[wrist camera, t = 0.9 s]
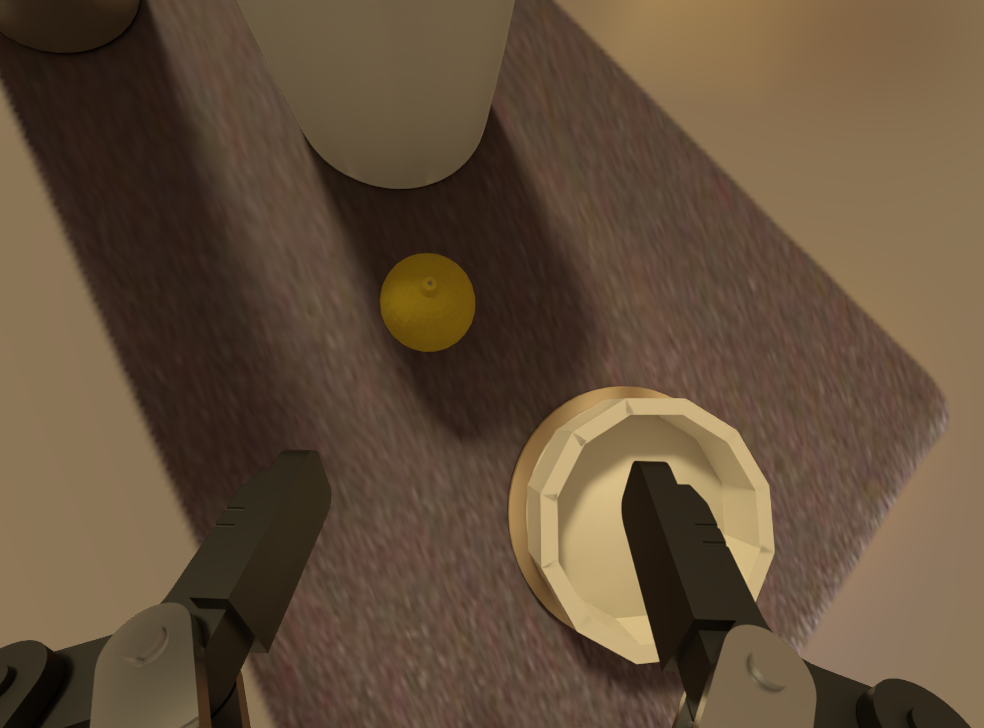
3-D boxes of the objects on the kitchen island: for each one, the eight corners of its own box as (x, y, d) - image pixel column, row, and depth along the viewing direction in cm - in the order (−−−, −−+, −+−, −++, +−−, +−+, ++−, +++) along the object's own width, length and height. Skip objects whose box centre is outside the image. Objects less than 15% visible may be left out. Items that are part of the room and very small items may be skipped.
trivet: (507, 647, 26) (510, 655, 25) (506, 385, 28) (508, 385, 27) (739, 624, 29) (748, 630, 28) (722, 387, 31) (730, 387, 30)
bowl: (525, 636, 25) (543, 674, 22) (523, 399, 27) (538, 397, 24) (734, 616, 28) (782, 647, 24) (719, 400, 30) (762, 398, 26)
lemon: (458, 367, 28) (472, 349, 20) (378, 349, 27) (359, 323, 19) (474, 291, 28) (494, 245, 21) (396, 272, 28) (386, 217, 20)
